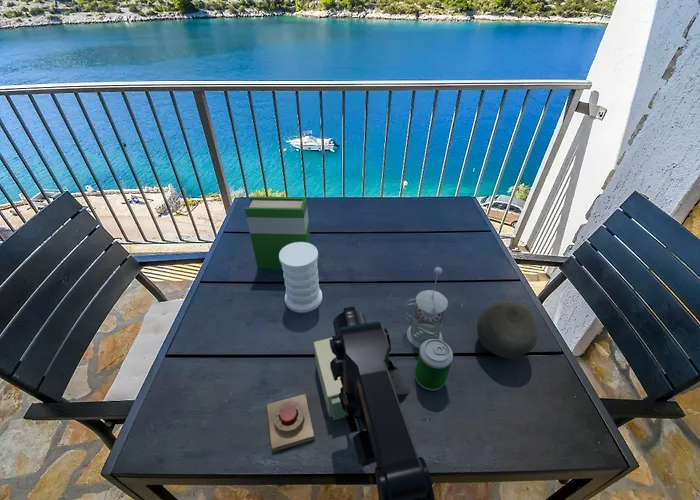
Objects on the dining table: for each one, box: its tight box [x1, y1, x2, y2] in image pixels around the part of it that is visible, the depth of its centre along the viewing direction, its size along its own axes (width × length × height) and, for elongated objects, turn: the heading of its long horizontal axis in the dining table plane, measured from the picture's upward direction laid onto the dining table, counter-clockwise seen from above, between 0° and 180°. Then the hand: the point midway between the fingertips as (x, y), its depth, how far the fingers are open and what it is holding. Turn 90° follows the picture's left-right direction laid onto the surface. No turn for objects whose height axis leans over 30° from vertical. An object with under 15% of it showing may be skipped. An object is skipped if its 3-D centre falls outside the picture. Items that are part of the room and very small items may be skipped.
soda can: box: [414, 339, 454, 392], centre depth 83 cm, size 8×8×12 cm
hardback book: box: [244, 196, 312, 270], centre depth 114 cm, size 18×7×24 cm, turn 88°
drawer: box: [331, 396, 347, 421], centre depth 80 cm, size 18×11×7 cm, turn 17°
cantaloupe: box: [476, 300, 539, 359], centre depth 89 cm, size 14×14×15 cm
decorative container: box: [279, 242, 323, 313], centre depth 103 cm, size 12×12×18 cm
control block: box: [266, 393, 316, 453], centre depth 77 cm, size 10×9×4 cm
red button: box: [280, 405, 297, 425], centre depth 76 cm, size 4×4×2 cm
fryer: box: [313, 337, 342, 418], centre depth 83 cm, size 15×13×9 cm
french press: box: [402, 266, 449, 349], centre depth 90 cm, size 10×12×25 cm
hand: (359, 424), depth 66 cm, fingers closed
